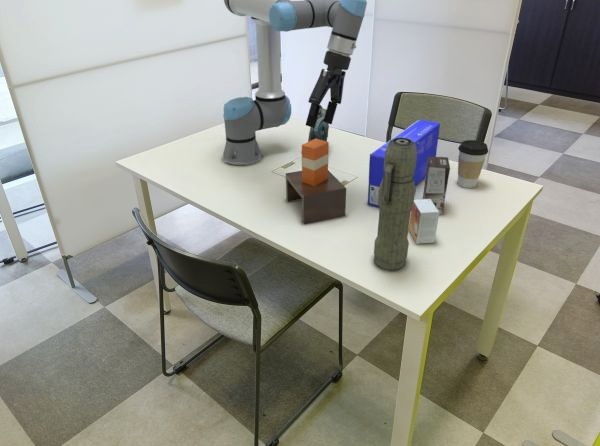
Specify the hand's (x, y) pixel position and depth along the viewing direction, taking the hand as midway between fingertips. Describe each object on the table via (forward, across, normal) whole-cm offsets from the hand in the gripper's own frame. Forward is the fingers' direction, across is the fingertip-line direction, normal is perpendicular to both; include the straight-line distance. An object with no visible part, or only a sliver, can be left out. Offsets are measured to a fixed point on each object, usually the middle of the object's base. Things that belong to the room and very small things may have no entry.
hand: (319, 124), depth 146 cm
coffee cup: (+10, +41, -45) cm, 62 cm away
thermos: (+26, -15, -36) cm, 47 cm away
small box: (+21, +1, -40) cm, 46 cm away
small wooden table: (+27, +4, -5) cm, 28 cm away
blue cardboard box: (+17, +30, -26) cm, 43 cm away
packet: (+17, +1, -3) cm, 18 cm away
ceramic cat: (+21, +44, +13) cm, 50 cm away
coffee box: (+17, +20, -39) cm, 47 cm away
